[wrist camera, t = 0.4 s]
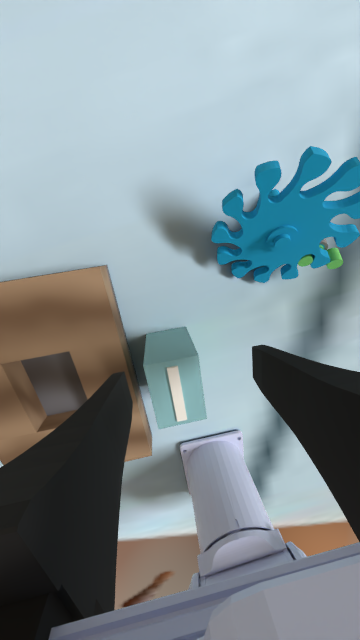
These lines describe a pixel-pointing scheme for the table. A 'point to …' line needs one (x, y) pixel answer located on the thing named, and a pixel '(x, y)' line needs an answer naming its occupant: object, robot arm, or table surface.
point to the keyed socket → (61, 356)
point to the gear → (290, 219)
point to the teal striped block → (174, 377)
